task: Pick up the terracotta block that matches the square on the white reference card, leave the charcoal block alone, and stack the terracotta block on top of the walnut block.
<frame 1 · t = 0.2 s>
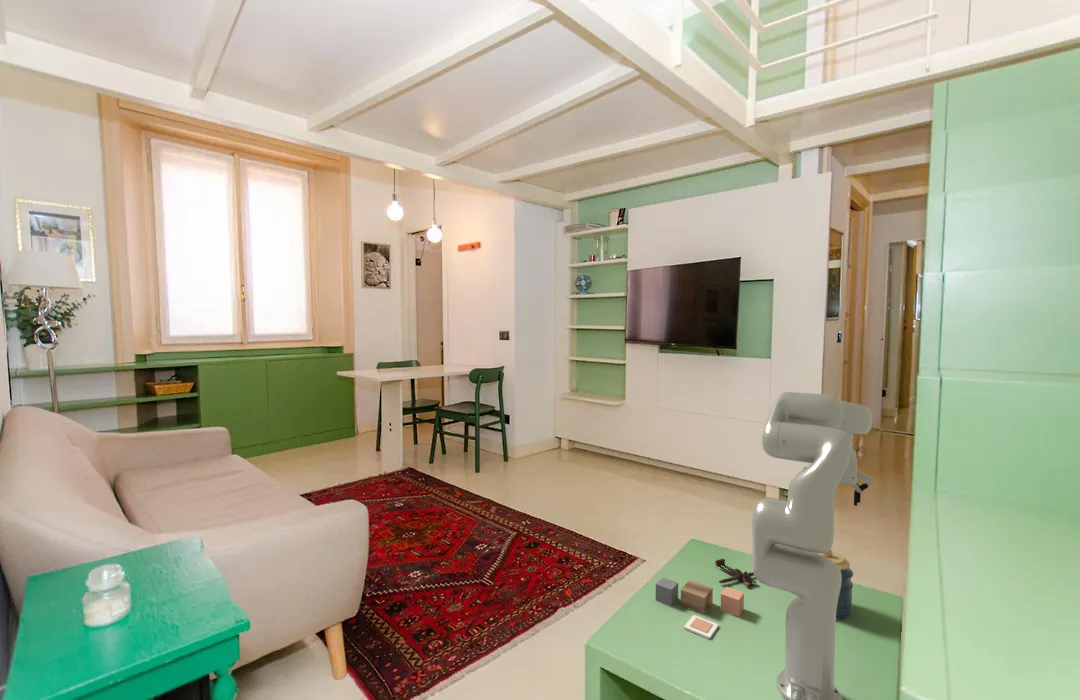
hand: (836, 500, 137), 31 cm above the table, tool pointing down, fingers open, 9 cm apart
charcoal block: (666, 599, 140), on the table
reference card: (701, 627, 127), on the table
walnut block: (696, 605, 138), on the table
brown spindly figurine: (735, 577, 154), on the table
canister: (825, 607, 136), on the table
terracotta block: (732, 610, 135), on the table
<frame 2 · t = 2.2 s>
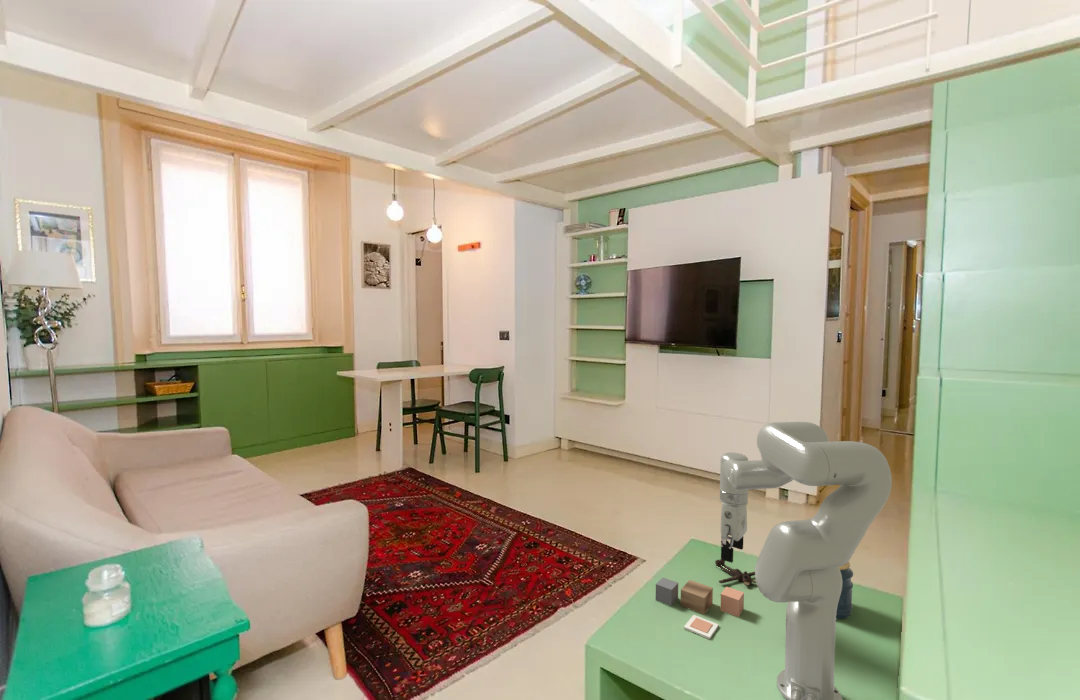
hand: (732, 554, 135), 16 cm above the table, tool pointing down, fingers open, 9 cm apart
nothing on the table moved.
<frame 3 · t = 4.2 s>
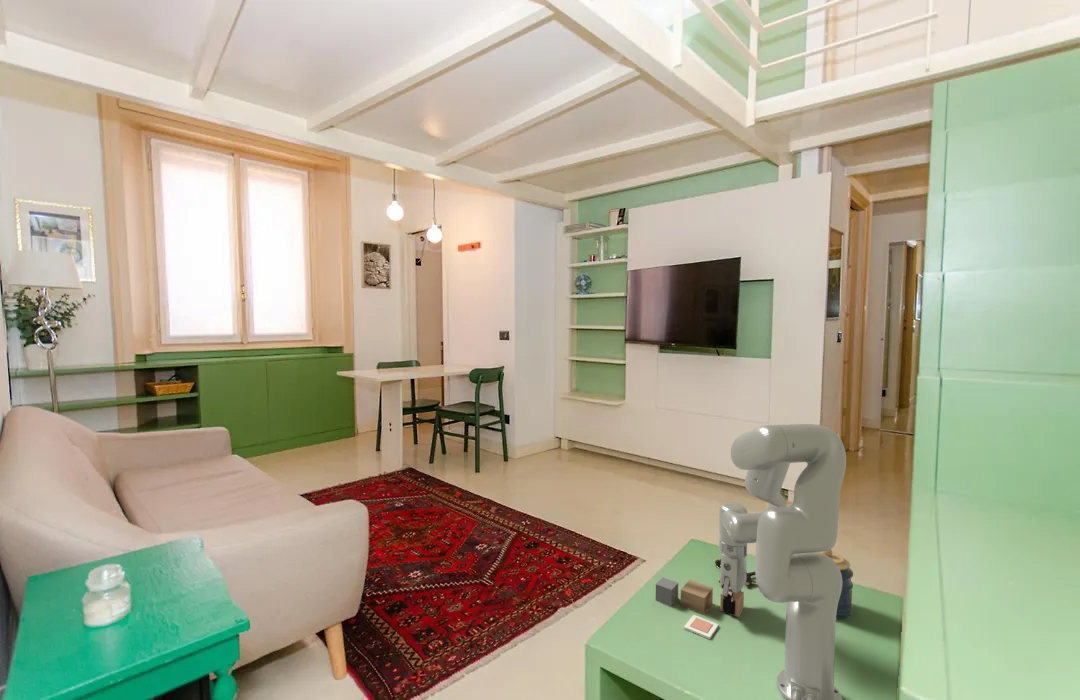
hand: (732, 607, 135), 0 cm above the table, tool pointing down, fingers closed on terracotta block, 5 cm apart
terracotta block: (731, 609, 135), on the table, touching gripper
everything else where it was.
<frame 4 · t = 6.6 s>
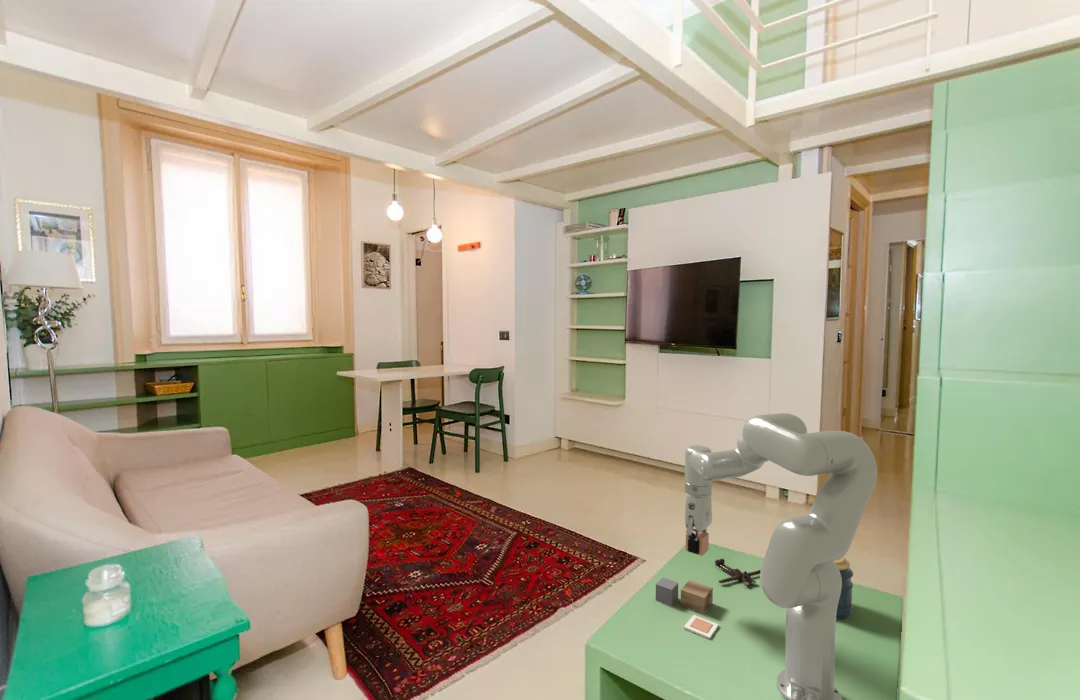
hand: (697, 548, 137), 17 cm above the table, tool pointing down, fingers closed on terracotta block, 5 cm apart
terracotta block: (697, 550, 137), point 16 cm above the table, touching gripper
everything else where it was.
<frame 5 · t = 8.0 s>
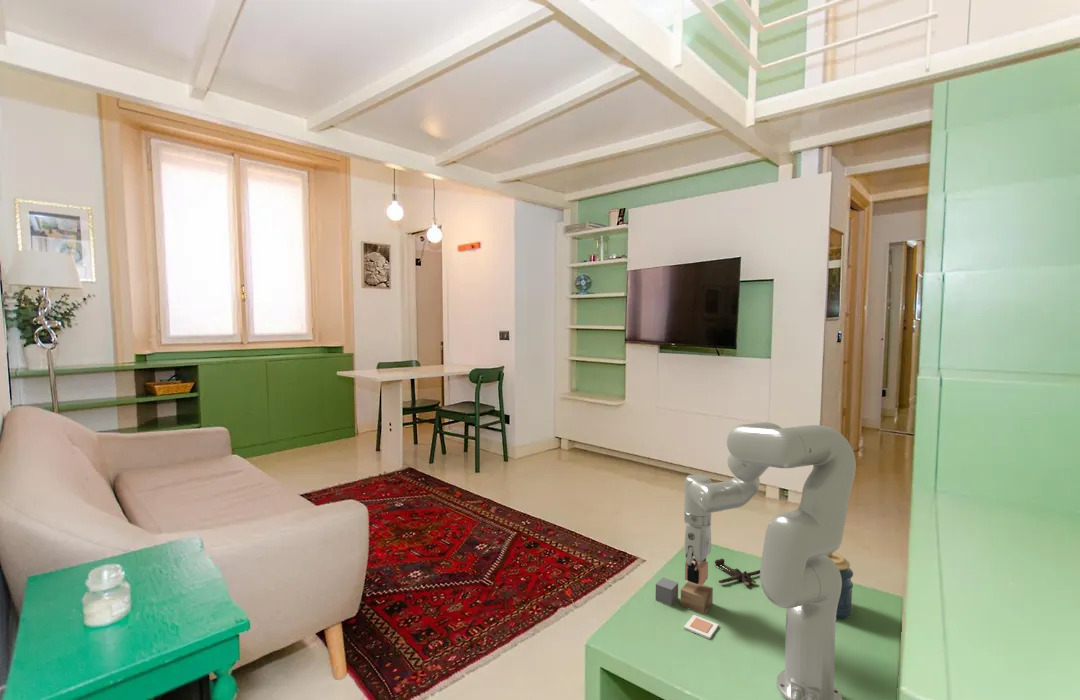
hand: (696, 577, 137), 8 cm above the table, tool pointing down, fingers closed on terracotta block, 5 cm apart
terracotta block: (696, 579, 137), point 8 cm above the table, touching gripper
everything else where it was.
when the fingers open (7 cm above the table, at t = 9.1 s): terracotta block drops 2 cm, resting on walnut block.
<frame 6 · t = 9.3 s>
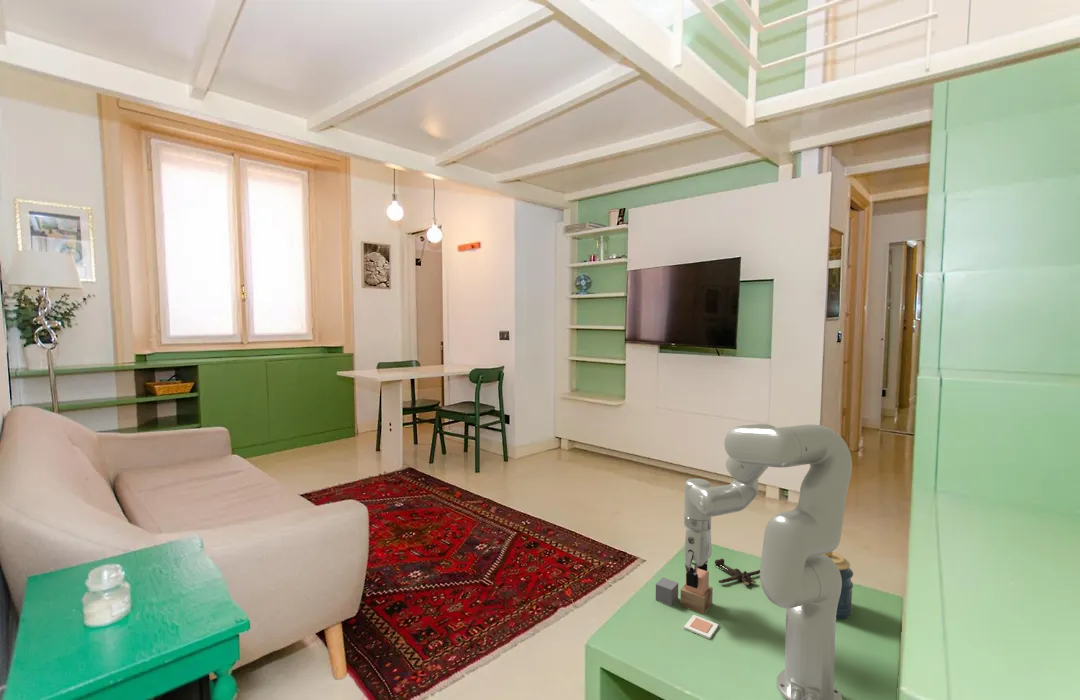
hand: (696, 580, 137), 7 cm above the table, tool pointing down, fingers open, 7 cm apart
walnut block: (696, 605, 138), on the table, touching terracotta block
terracotta block: (697, 588, 137), point 5 cm above the table, touching walnut block
everything else where it was.
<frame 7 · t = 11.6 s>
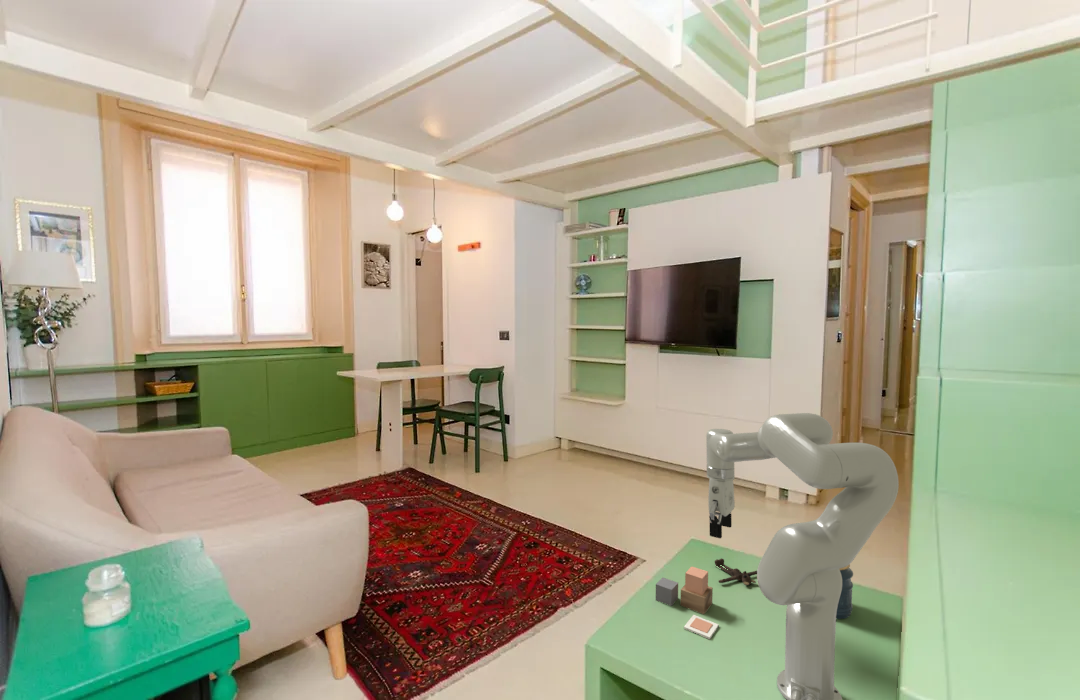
hand: (720, 531, 134), 23 cm above the table, tool pointing down, fingers open, 9 cm apart
nothing on the table moved.
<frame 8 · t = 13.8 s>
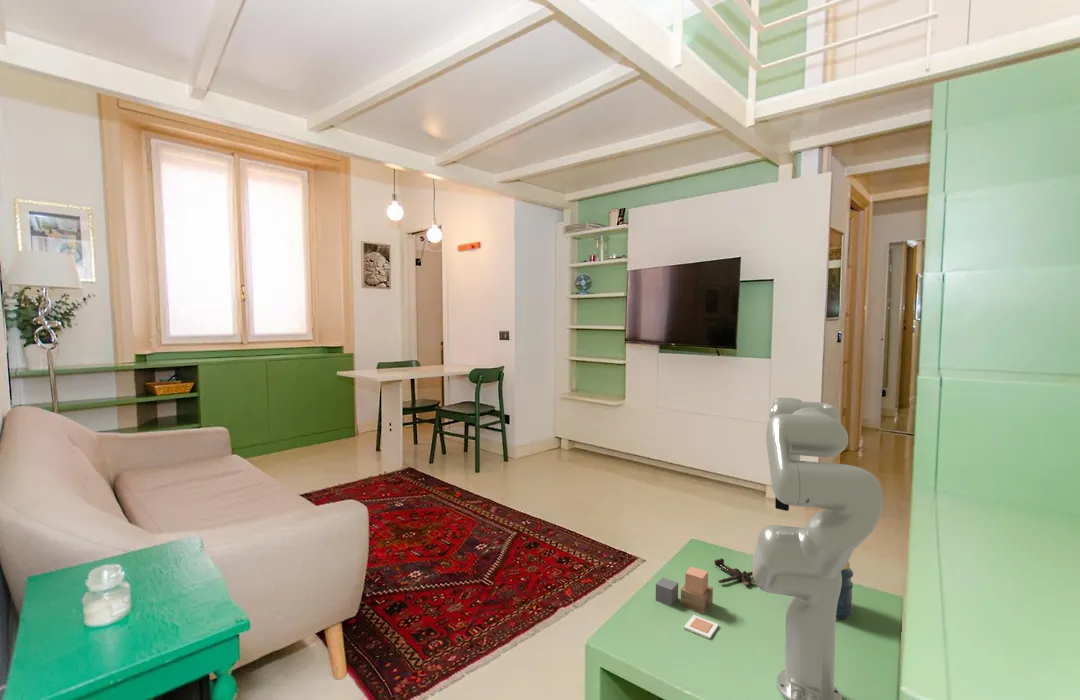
hand: (786, 504, 128), 33 cm above the table, tool pointing down, fingers open, 9 cm apart
nothing on the table moved.
at the end: terracotta block 0.4 cm off-centre on the walnut block, point 5.0 cm above the walnut block's base; terracotta block tilted 0°; the gripper is holding nothing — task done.
